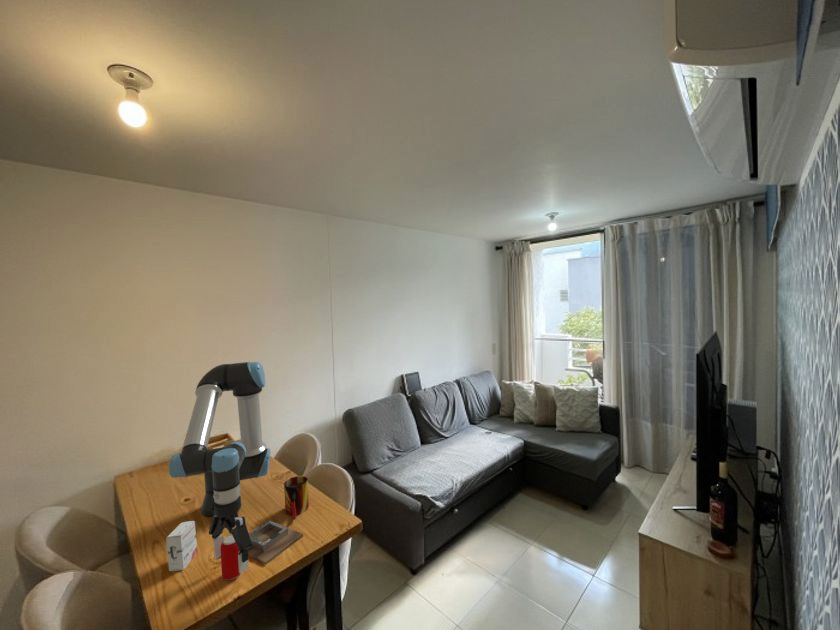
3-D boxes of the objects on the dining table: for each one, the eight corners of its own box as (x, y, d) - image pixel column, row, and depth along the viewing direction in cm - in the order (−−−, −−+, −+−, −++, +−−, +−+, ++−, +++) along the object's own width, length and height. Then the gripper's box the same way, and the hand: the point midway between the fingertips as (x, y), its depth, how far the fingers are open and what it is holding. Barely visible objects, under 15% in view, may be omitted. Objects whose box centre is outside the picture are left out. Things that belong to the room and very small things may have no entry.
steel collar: (245, 543, 123) (245, 535, 123) (270, 526, 132) (270, 519, 132) (263, 552, 118) (263, 544, 118) (288, 534, 127) (287, 527, 127)
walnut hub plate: (230, 547, 123) (230, 544, 123) (269, 522, 137) (268, 519, 137) (265, 565, 114) (265, 562, 114) (303, 536, 127) (302, 533, 127)
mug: (293, 523, 136) (291, 494, 136) (282, 508, 146) (280, 481, 146) (316, 513, 142) (314, 485, 142) (303, 499, 153) (302, 473, 152)
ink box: (183, 553, 121) (181, 521, 121) (198, 552, 121) (196, 519, 121) (167, 572, 112) (165, 537, 112) (183, 570, 113) (181, 535, 113)
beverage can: (233, 566, 114) (231, 531, 113) (247, 569, 112) (246, 534, 112) (217, 580, 108) (215, 543, 108) (232, 584, 106) (230, 547, 106)
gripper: (194, 495, 112) (198, 558, 112) (239, 515, 100) (243, 585, 100) (217, 484, 118) (220, 544, 119) (262, 502, 106) (266, 568, 107)
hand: (231, 563), depth 109 cm, fingers open, 13 cm apart
